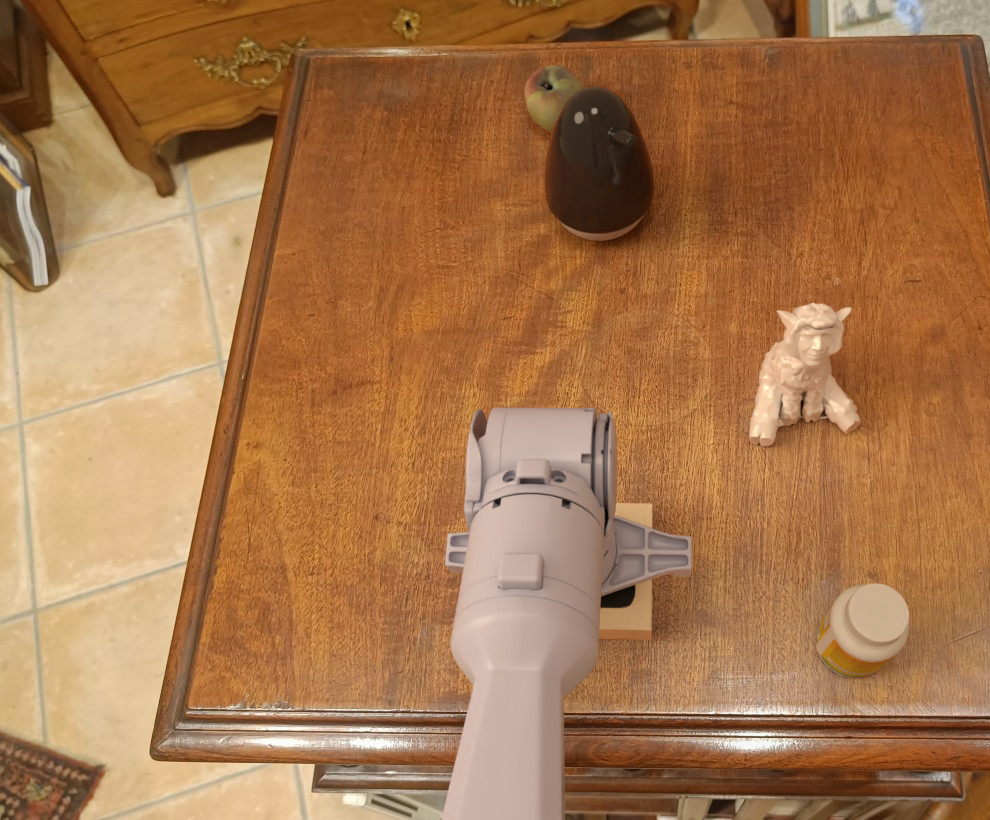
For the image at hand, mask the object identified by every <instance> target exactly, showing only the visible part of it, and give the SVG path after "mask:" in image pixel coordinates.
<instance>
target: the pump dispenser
mask: <svg viewBox="0 0 990 820" xmlns="http://www.w3.org/2000/svg"><path fill="white" fill-rule="evenodd" d="M583 88H584V89H581V90H579V91H578V92H576V93H575V94H574V95H573V96H571V97H570V99H569V100H568V101H567V102H566V104H565V105H564V107H563V108H562V110H561V112H560V113H559V116H558V118H557V120H556V122H555V125H554V128H553V131H552V133H550V138H549V142H548V147H547V151H546V158H545V165H544V194H545V201H546V204H547V206H548V208H549V210H550V212H551V213H552V214H553V216H554V218H556V220H558V221H559V223H560V224H561V225H562V226H563V227H564V229H566V230H567V231H568V232H570V233H571V234H573V235H575V236H577V237H579V238H581V239H585V240H589V241H596V242H602V241H603V242H604V241H610V240H615V239H617V238H620V237H622V236H624V235H626V234H627V233H629V232H630V231H632V230H633V229H634V228H635V227H636V226H637V225H638V224H639V223H640V222H641V220H642V219H643V217H644V216H645V214H646V213H647V211H648V209H650V206H651V205H652V202H653V199H654V194H655V175H654V170H653V165H652V160H651V156H650V152H649V149H648V146H647V143H646V139H645V138H644V135H643V132H642V129H641V128H640V126H639V122H638V121H637V119H636V117H635V116H634V113H633V112H632V111H631V109H630V107H629V105H627V103H626V102H625V101H624V100H623V99H622V98H621V97H620V96H619V95H618V94H616V93H615V92H614V91H612V90H611V89H609V88H606V87H603V86H587V87H583Z"/></svg>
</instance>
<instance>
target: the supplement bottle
mask: <svg viewBox="0 0 990 820" xmlns="http://www.w3.org/2000/svg"><path fill="white" fill-rule="evenodd" d="M909 631H910V610H909V606H908V604H907V602H906V600H905V599H904V597H903V596H902V595H901V594H900V592H899V591H897V589H894V588H893V587H892V586H889V585H887V584H883V583H876V582H872V583H867V584H857V585H854V586H851V587H849V588H846V589H845V590H844V591H842V592H841V593H840V594H839V595H838V596H837V597H836V598H835V599H834V601H833V603H832V604H831V605H830V606H829V608H828V610H827V611H826V613H825V614H824V615H823V617H822V618H821V620H820V621H819V623H818V625H817V629H816V632H815V648H816V651H817V653H818V656H819V657H820V659H821V661H822V662H823V663H824V665H825V666H826V667H827V668H829V669H830V670H831V671H833V672H834V673H835V674H837V675H839V676H841V677H845V678H848V679H863V678H867V677H869V676H872V675H873V674H875V673H876V672H878V671H879V670H880V669H881V668H882V667H884V666H885V665H886V664H887V663H888V662H889V661H890V660H891V659H893V658H894V657H895V656H896V655H898V653H899V652H901V650H902V649H903V647H904V646H905V644H906V643H907V640H908V637H909Z"/></svg>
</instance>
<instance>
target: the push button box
mask: <svg viewBox="0 0 990 820" xmlns="http://www.w3.org/2000/svg"><path fill="white" fill-rule="evenodd" d="M653 505H654V504H653V503H651V502H650V503H648V502H647V503H646V502H644V503H642V502H616V511H615V515H617V516H620V517H622V518H625V519H628V520H631V521H633V522H636V523H639V524H642V525H644V526H647V527H650V528H653V529H654V527H653V520H654V519H653V516H654V514H653V512H654V510H653V509H654V508H653ZM599 640H625V641H628V640H629V641H652V640H653V579H650V580H647V581H645V582H642V583H639V584H636V589H635V597H634V600H633V602H632V604H631V605H630V606H628V607H625V608H600V627H599Z"/></svg>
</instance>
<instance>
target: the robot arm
mask: <svg viewBox="0 0 990 820" xmlns="http://www.w3.org/2000/svg"><path fill="white" fill-rule="evenodd" d="M597 413H598V412H597V409H596V407H521V406H520V407H519V406H518V407H515V406H514V407H505V406H502V407H499V406H497V407H496V406H495V407H493V408H491V410H490V412H489V415H488V418H487V416H486V413H485V412H484V410H483V409H481V408H478V409H476V410H475V411H474V414H473V416H472V420H471V423H470V426H469V432H468V439H467V445H466V451H465V452H466V453H465V467H464V469H465V471H464V472H465V473H464V474H465V475H464V477H465V478H464V479H465V481H464V483H465V494H464V499H463V501H464V508H463V514H464V518H465V522H466V523H465V524H466V527H467V531H463V532H448V533H447V537H446V548H445V558H444V566H445V567H446V568H447V570H448V571H449V572H450V573H451V574H461V580H460V586H459V592H458V598H457V603H456V608H455V613H454V618H453V625H452V631H451V637H450V643H449V644H450V651H451V652H450V653H451V655H452V658H453V660H454V662H455V663H456V665H457V667H458V668H459V669H460V671H461V672H462V673H463V675H465V677H466V679H468V681H469V682H470V683H471V685H472V686H473V687H472V691H471V694H470V699H469V704H468V707H467V711H466V716H465V720H464V723H463V728H462V732H461V736H460V741H459V745H458V749H457V752H456V756H455V761H454V764H453V769H452V774H451V776H450V777H451V778H450V780H449V781H450V782H449V785H448V789H447V793H446V799H445V802H444V807H443V809H442V810H443V811H442V814H441V819H440V820H566V782H565V781H566V779H565V777H566V776H565V775H566V774H565V772H566V771H565V770H566V768H565V699H566V697H567V696H568V695H569V694H570V693H571V692H572V691H573V690H574V689H575V688H576V687H577V686H578V685H579V684H581V682H583V681H584V680H585V679H586V678H587V677H588V676H589V675H590V674H591V673H592V671H593V670H594V668H596V664H597V662H598V658H599V645H600V639H599V627H600V608H625V607H628V606H630V605H631V604H632V602H633V600H634V597H635V589H636V584H639V583H642V582H645V581H647V580H650V579H652V580H654V579H656V578H659V577H663V576H666V575H673V576H674V577H676V578H690V577H691V576H692V569H693V551H692V549H693V548H692V547H693V545H692V543H693V542H692V541H693V539H692V536H690V535H676V534H673V533H667V532H665V531H662V530H658V529H655V528H654V527H653V528H650V527H647V526H644V525H642V524H639V523H636V522H633V521H631V520H628V519H625V518H622V517H620V516H617V515H615V511H616V503H617V496H618V495H617V494H618V493H617V492H618V439H617V438H618V437H617V436H618V435H617V428H616V424H615V421H614V417H613V414H612V411H611V410H608V412H607V413H598V414H597Z"/></svg>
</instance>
